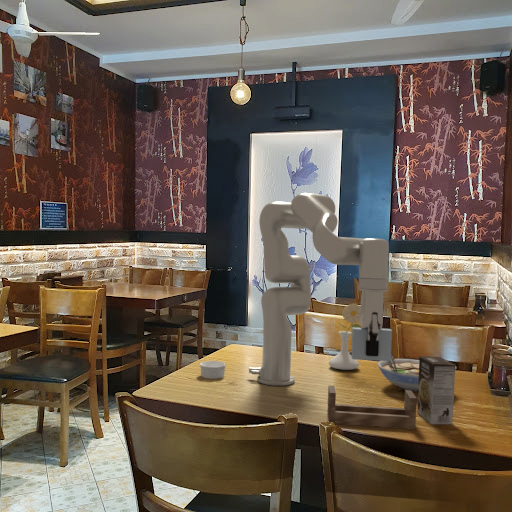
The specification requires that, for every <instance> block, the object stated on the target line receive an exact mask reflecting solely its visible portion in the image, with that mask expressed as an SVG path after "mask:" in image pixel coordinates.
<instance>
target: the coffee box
mask: <svg viewBox="0 0 512 512" xmlns="http://www.w3.org/2000/svg"><path fill="white" fill-rule="evenodd" d="M418 360H419V384H418V392H417V409H416V414H418V415H420V416H421V417H422V418H423V419H424V420H425V421H426V422H428V423H429V424H430V425H453V419H454V417H453V416H454V399H455V381H456V364H455V363H452V362H451V361H449V360H447V359H446V358H443V357H441V356H429V355H428V356H427V355H421V356H419V358H418Z"/></svg>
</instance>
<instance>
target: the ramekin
mask: <svg viewBox="0 0 512 512" xmlns="http://www.w3.org/2000/svg"><path fill="white" fill-rule="evenodd" d="M226 364H227V363H225V362H224V361H219V360H218V361H217V360H208V361H207V360H205V361H202V362H200V363H199V365H200V366H199V367H200V376H201V377H202V378H203V379H204V378H205V379H209V380H210V379H211V380H215V379H216V380H218V379H222V378H224V376H225V372H226V366H227V365H226Z"/></svg>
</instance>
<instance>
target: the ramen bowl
mask: <svg viewBox="0 0 512 512" xmlns="http://www.w3.org/2000/svg"><path fill="white" fill-rule="evenodd" d="M377 367H378V368H379V370H380V372H381V374H382V375H383V376H384V377H385V379H386V380H387V381H389V382H390V383H391V384H393V385H395V386H397V387H399V388H401V390H404V391H405V390H411V391H412V392H413V393H418V384H419V359H412V358H394V354H391V361H378V363H377Z"/></svg>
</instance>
